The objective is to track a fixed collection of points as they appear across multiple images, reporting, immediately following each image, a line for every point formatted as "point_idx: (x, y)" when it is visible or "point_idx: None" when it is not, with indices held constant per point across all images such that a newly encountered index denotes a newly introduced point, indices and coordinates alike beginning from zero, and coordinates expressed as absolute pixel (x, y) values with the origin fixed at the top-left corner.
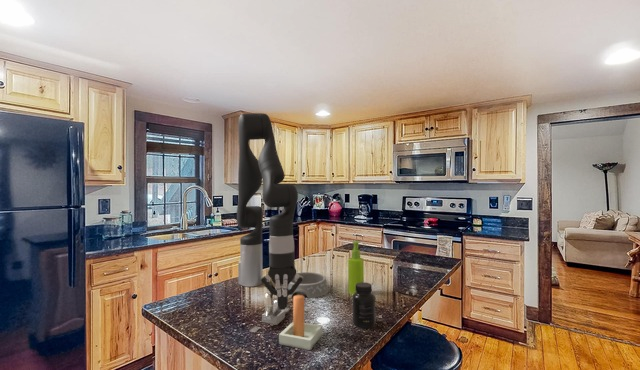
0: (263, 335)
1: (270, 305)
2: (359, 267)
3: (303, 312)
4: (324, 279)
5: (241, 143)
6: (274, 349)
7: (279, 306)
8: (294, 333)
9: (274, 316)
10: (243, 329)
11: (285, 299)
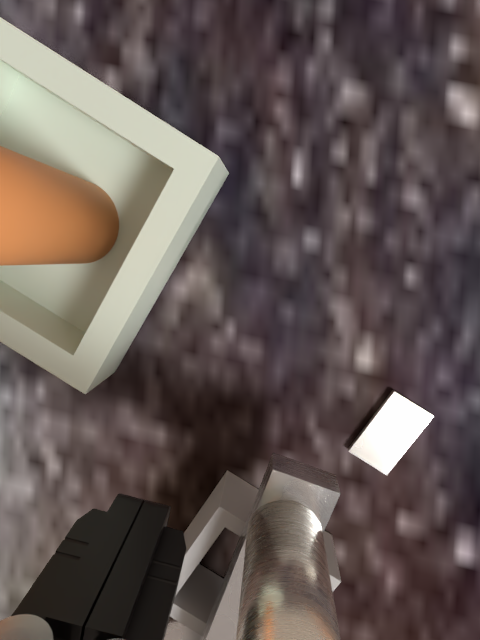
0: (332, 330)
1: (273, 574)
2: None
3: None
4: None
5: None
6: (265, 100)
7: (170, 536)
8: (93, 194)
9: (238, 520)
10: (475, 456)
11: (56, 590)
